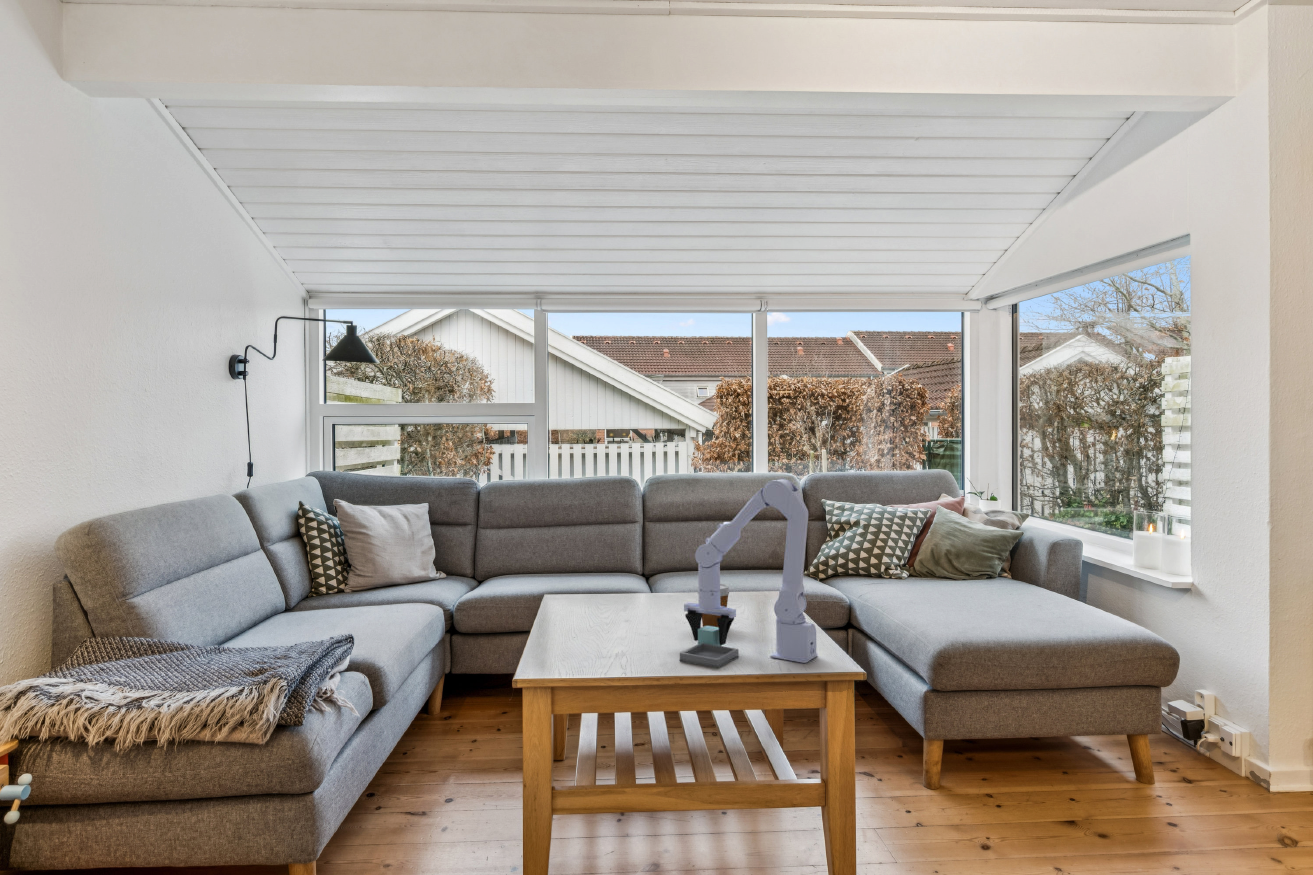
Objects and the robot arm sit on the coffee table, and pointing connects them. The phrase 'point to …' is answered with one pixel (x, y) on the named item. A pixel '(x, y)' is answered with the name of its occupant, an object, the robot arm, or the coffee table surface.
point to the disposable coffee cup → (724, 591)
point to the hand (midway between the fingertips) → (709, 641)
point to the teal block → (709, 635)
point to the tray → (709, 655)
